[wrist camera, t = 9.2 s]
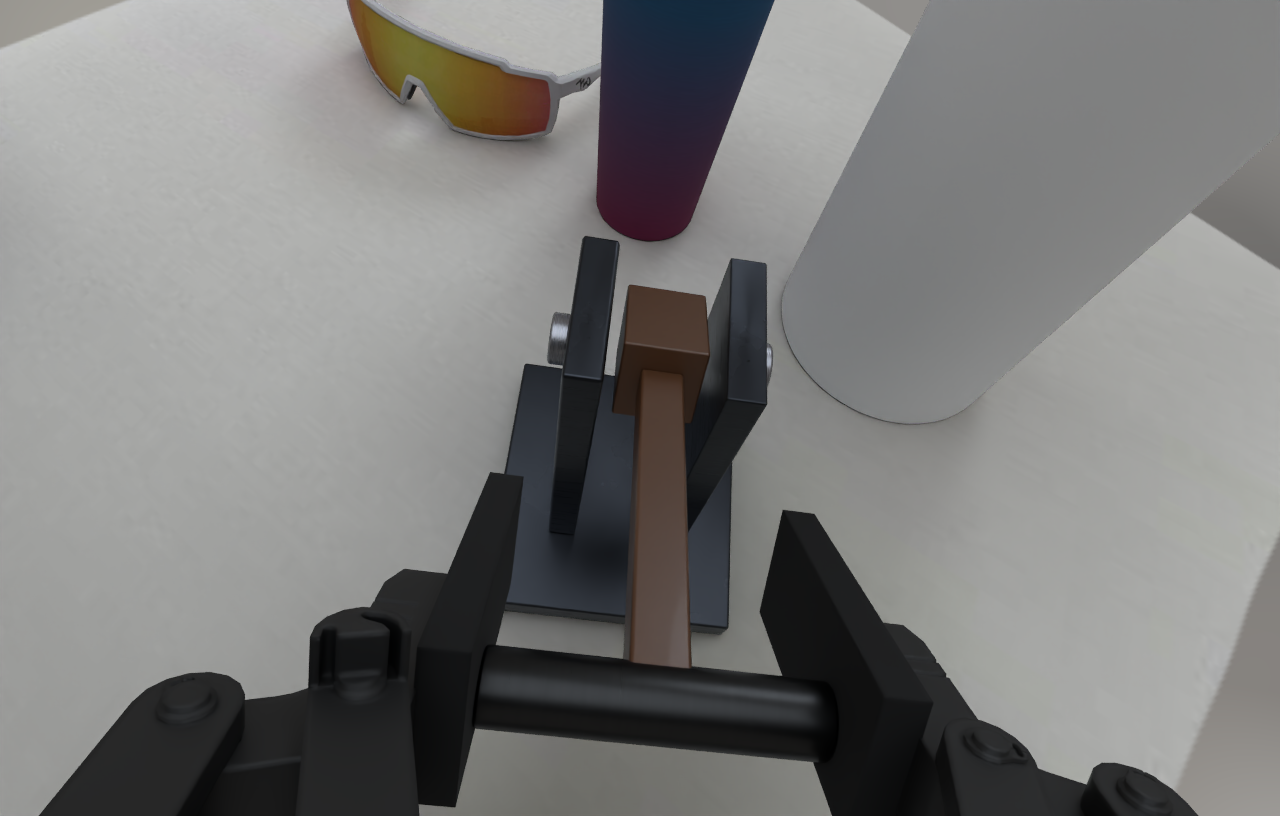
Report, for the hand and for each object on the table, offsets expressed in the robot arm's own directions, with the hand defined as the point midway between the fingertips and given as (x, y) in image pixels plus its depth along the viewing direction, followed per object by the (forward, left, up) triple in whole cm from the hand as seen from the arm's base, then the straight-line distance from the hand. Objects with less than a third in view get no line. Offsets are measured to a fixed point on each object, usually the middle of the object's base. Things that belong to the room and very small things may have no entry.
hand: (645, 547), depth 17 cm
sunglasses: (+8, +32, -12) cm, 35 cm away
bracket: (+3, +5, -11) cm, 13 cm away
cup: (+11, +19, -12) cm, 25 cm away
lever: (0, +1, 0) cm, 1 cm away
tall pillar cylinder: (+19, +8, -12) cm, 24 cm away
